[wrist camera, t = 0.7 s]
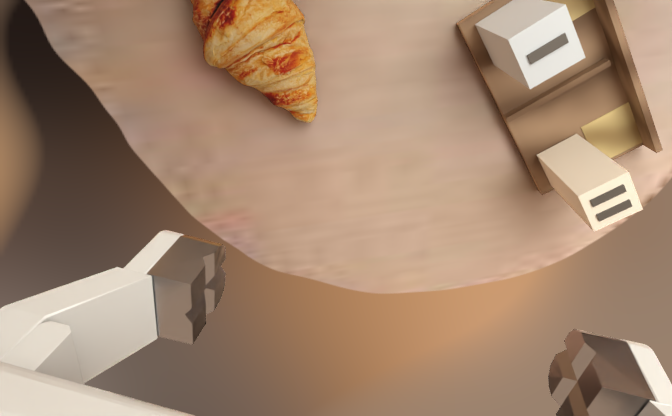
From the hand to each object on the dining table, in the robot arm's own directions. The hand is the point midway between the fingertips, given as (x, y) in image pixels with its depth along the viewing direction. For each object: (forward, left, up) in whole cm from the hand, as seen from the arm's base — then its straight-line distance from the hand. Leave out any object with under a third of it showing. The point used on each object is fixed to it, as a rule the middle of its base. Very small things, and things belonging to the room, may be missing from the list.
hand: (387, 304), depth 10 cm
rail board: (+5, +21, -40) cm, 45 cm away
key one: (0, +15, -38) cm, 41 cm away
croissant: (-2, -10, -40) cm, 41 cm away
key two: (+13, +23, -38) cm, 46 cm away
